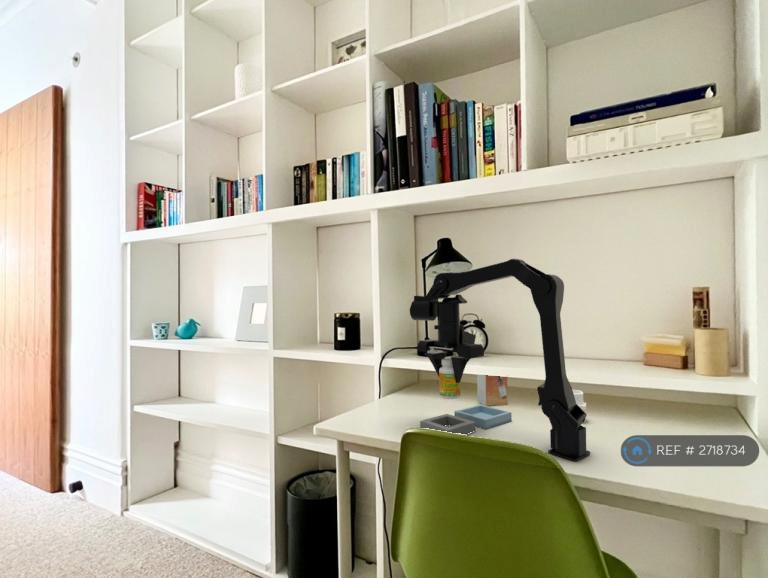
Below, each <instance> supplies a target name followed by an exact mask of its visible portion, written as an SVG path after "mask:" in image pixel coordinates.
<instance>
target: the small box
mask: <svg viewBox="0 0 768 578" xmlns="http://www.w3.org/2000/svg"><path fill="white" fill-rule="evenodd" d="M476 377H477V379H476V380H477V381H476V383H477V384H476V385H477V390H476V391H477V403H478V402H479V404H480V405H484V406H488V407H491V406H503V405H504V406H505V405H508V403H509V402H508V400H509V399H508V394H509V393H508V376H507V377H500V376H488V375H477V374H476Z"/></svg>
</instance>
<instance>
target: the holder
mask: <svg viewBox="0 0 768 578" xmlns="http://www.w3.org/2000/svg"><path fill="white" fill-rule="evenodd" d="M419 423H420V424H419V425H420V427H419V428H429V429H435V430H441V431H447V432H452V433H461V434H468V433H470V432H473V431H476V426H475V422H473V421H470V420H466V419H463V418H460V417H456V416H455V415H452V414H450V413H445V414H441V415H437V416H433V417H430V418H426V419H423V420H420V421H419ZM445 425H450V426H445ZM476 432H477V431H476ZM468 435H469V434H468Z"/></svg>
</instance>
